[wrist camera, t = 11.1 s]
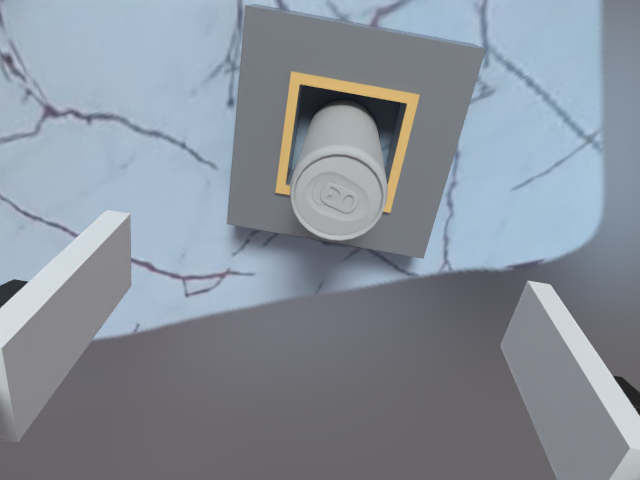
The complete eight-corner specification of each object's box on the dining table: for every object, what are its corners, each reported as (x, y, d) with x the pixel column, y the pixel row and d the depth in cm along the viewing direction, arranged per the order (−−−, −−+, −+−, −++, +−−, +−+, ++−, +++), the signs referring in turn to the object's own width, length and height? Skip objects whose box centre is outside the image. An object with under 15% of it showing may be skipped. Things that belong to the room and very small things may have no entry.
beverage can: (326, 85, 33) (312, 131, 22) (390, 117, 33) (407, 176, 23) (297, 149, 35) (272, 219, 24) (358, 177, 36) (360, 258, 25)
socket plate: (235, 207, 37) (225, 225, 34) (255, 4, 31) (244, 5, 28) (418, 239, 37) (423, 260, 35) (474, 44, 31) (486, 49, 28)
